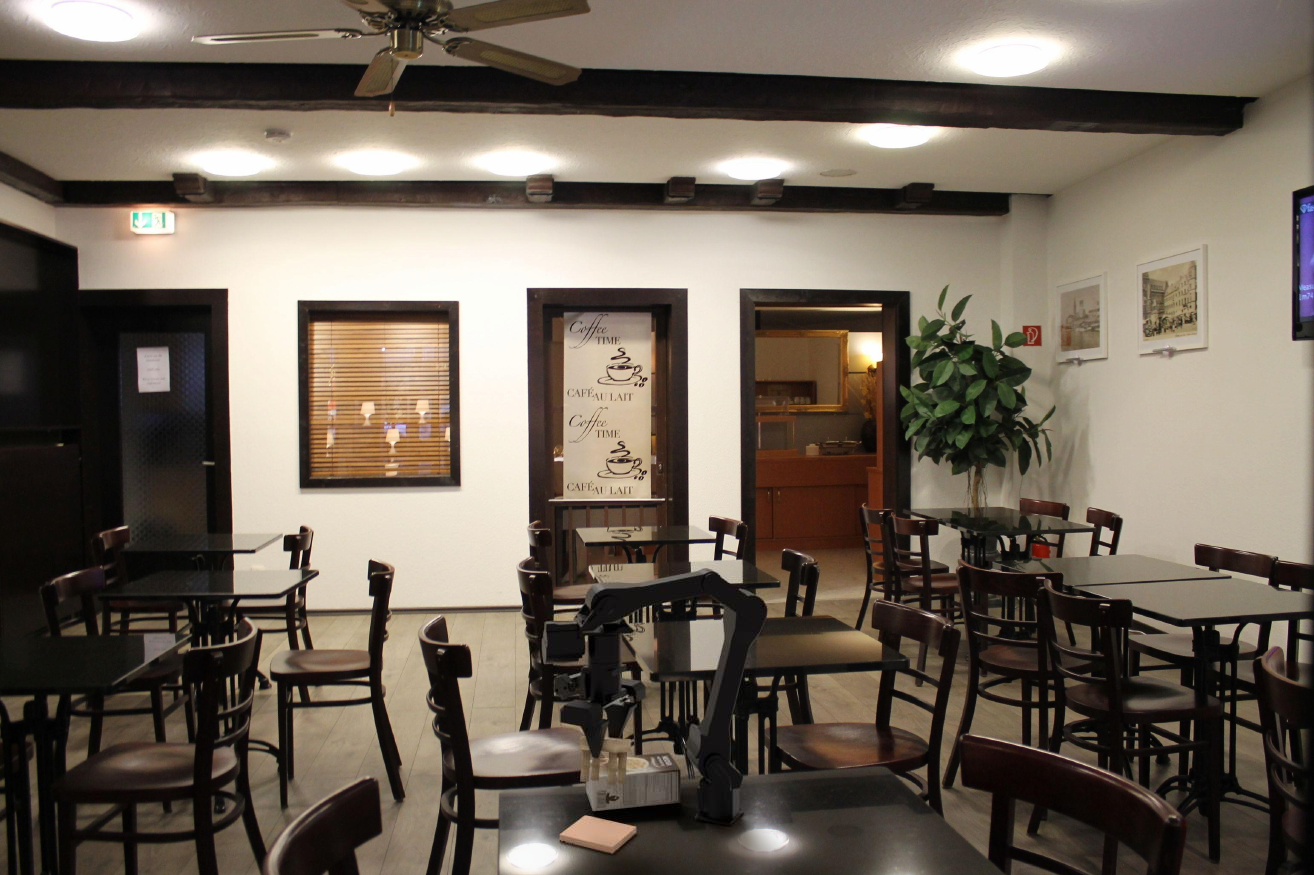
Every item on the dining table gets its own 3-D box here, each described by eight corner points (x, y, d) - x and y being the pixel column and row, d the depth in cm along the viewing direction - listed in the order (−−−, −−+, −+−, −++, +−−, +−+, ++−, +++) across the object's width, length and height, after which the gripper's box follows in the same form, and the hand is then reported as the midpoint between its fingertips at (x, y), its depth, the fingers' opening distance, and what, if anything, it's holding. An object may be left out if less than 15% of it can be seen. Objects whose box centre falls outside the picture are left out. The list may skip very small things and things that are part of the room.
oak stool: (628, 783, 149) (631, 739, 150) (613, 785, 144) (615, 739, 146) (593, 779, 152) (595, 736, 154) (576, 781, 148) (580, 736, 150)
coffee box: (585, 758, 165) (669, 750, 169) (585, 792, 165) (669, 784, 169) (592, 777, 156) (681, 768, 160) (593, 813, 156) (681, 804, 160)
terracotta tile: (636, 832, 149) (636, 826, 149) (612, 853, 142) (612, 847, 142) (585, 821, 153) (585, 815, 153) (559, 840, 146) (559, 834, 146)
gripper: (593, 642, 162) (593, 727, 162) (532, 666, 145) (532, 762, 145) (647, 649, 156) (647, 738, 157) (590, 675, 140) (590, 774, 140)
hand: (604, 752), depth 150 cm, fingers closed on oak stool, 5 cm apart
